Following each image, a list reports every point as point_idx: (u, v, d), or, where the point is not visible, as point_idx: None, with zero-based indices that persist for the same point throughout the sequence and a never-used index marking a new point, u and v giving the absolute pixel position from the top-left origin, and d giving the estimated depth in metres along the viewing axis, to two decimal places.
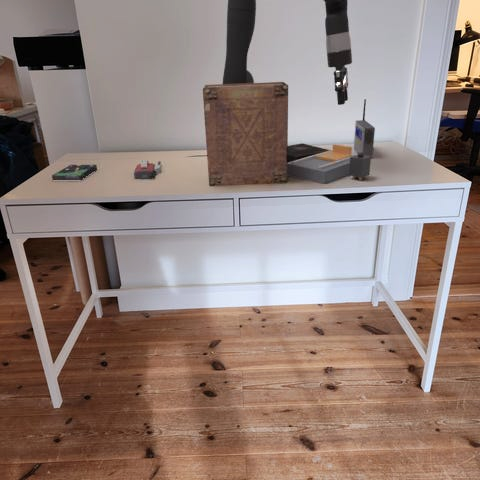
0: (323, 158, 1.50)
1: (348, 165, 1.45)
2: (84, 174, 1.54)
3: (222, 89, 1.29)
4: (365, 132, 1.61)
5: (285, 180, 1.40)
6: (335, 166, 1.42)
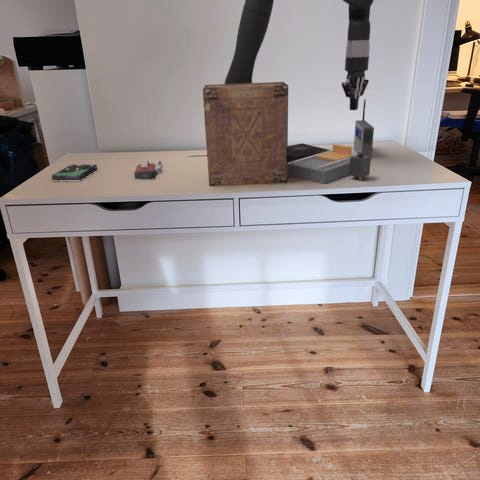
0: (323, 158, 1.50)
1: (348, 165, 1.45)
2: (84, 174, 1.54)
3: (222, 89, 1.29)
4: (364, 132, 1.61)
5: (285, 180, 1.40)
6: (335, 166, 1.42)
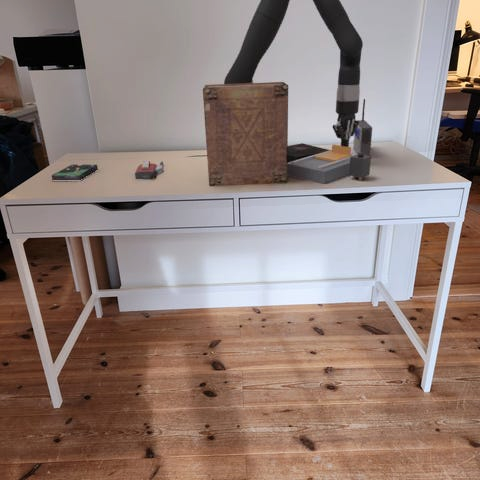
0: (322, 158, 1.49)
1: (348, 165, 1.45)
2: (83, 174, 1.54)
3: (222, 89, 1.29)
4: (362, 132, 1.62)
5: (285, 180, 1.40)
6: (335, 166, 1.42)
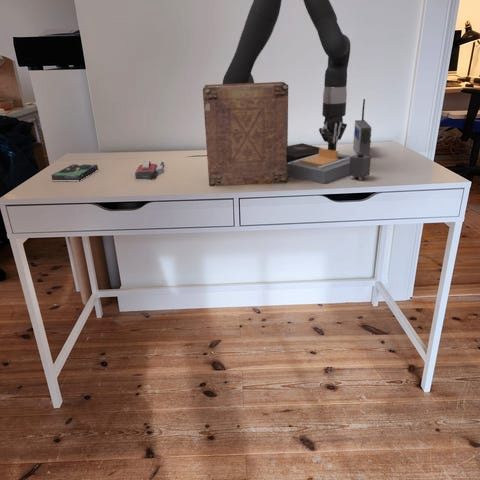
0: (308, 163, 1.45)
1: (348, 165, 1.45)
2: (83, 174, 1.54)
3: (222, 89, 1.29)
4: (361, 132, 1.62)
5: (285, 180, 1.40)
6: (335, 166, 1.42)
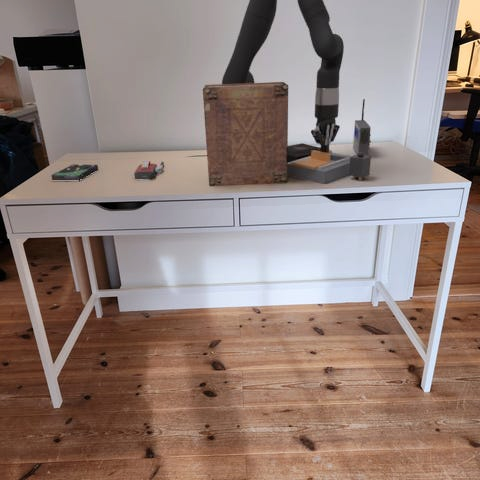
0: (300, 165, 1.42)
1: (348, 165, 1.45)
2: (83, 174, 1.54)
3: (222, 89, 1.29)
4: (361, 132, 1.62)
5: (285, 180, 1.40)
6: (335, 166, 1.42)
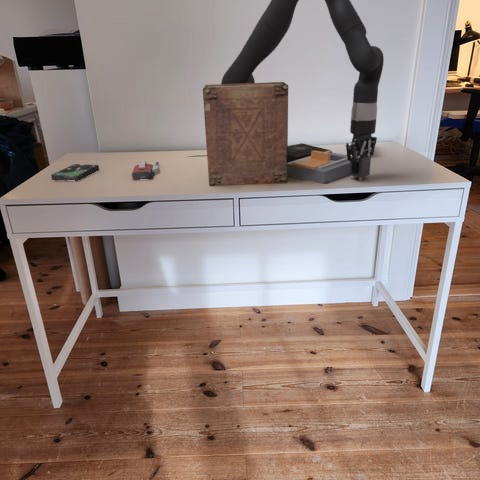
0: (300, 165, 1.42)
1: (348, 165, 1.45)
2: (83, 174, 1.53)
3: (222, 89, 1.29)
4: None
5: (285, 180, 1.40)
6: (335, 166, 1.42)
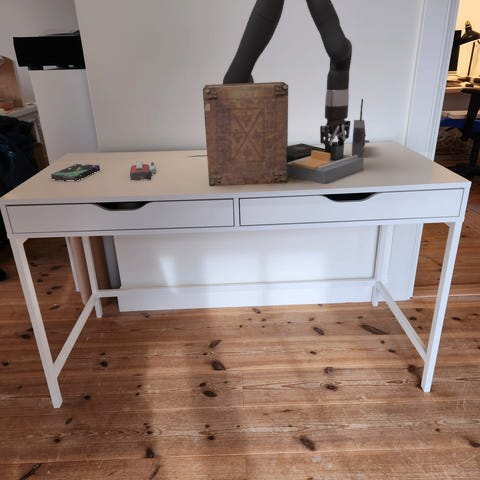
0: (300, 165, 1.42)
1: (348, 165, 1.45)
2: (82, 174, 1.53)
3: (222, 89, 1.29)
4: (354, 131, 1.63)
5: (285, 180, 1.40)
6: (335, 166, 1.42)
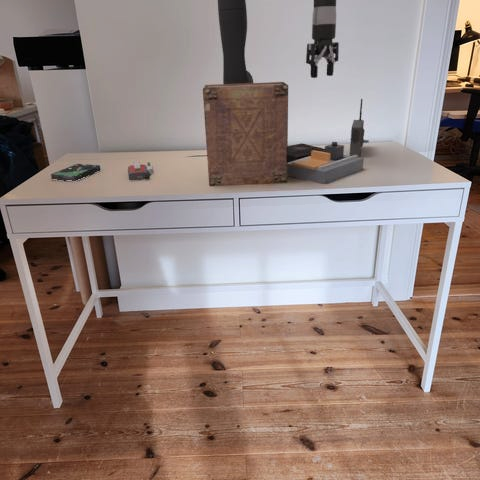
0: (300, 165, 1.42)
1: (348, 165, 1.45)
2: (81, 175, 1.53)
3: (222, 89, 1.29)
4: (352, 131, 1.64)
5: (285, 180, 1.40)
6: (335, 166, 1.42)
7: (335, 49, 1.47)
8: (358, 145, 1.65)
